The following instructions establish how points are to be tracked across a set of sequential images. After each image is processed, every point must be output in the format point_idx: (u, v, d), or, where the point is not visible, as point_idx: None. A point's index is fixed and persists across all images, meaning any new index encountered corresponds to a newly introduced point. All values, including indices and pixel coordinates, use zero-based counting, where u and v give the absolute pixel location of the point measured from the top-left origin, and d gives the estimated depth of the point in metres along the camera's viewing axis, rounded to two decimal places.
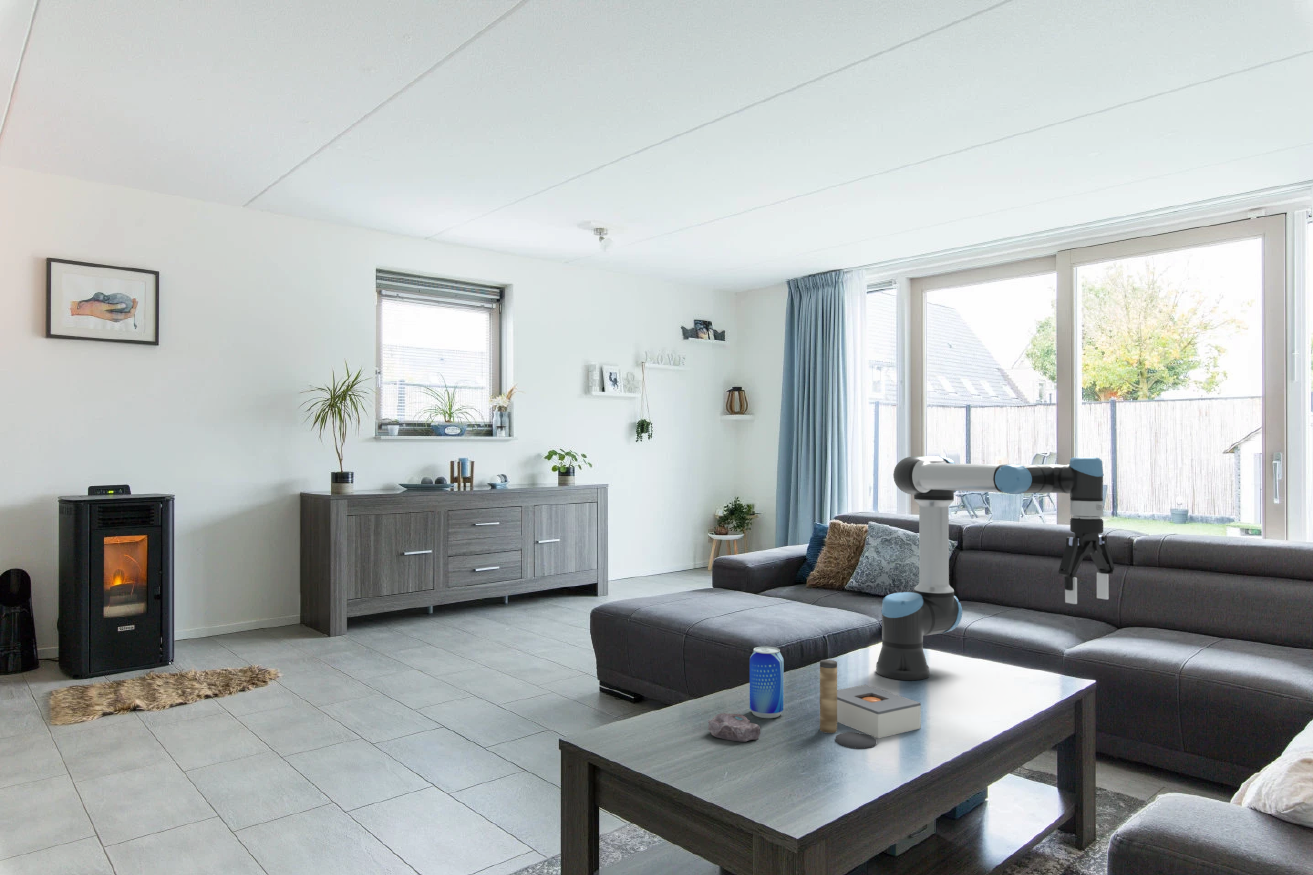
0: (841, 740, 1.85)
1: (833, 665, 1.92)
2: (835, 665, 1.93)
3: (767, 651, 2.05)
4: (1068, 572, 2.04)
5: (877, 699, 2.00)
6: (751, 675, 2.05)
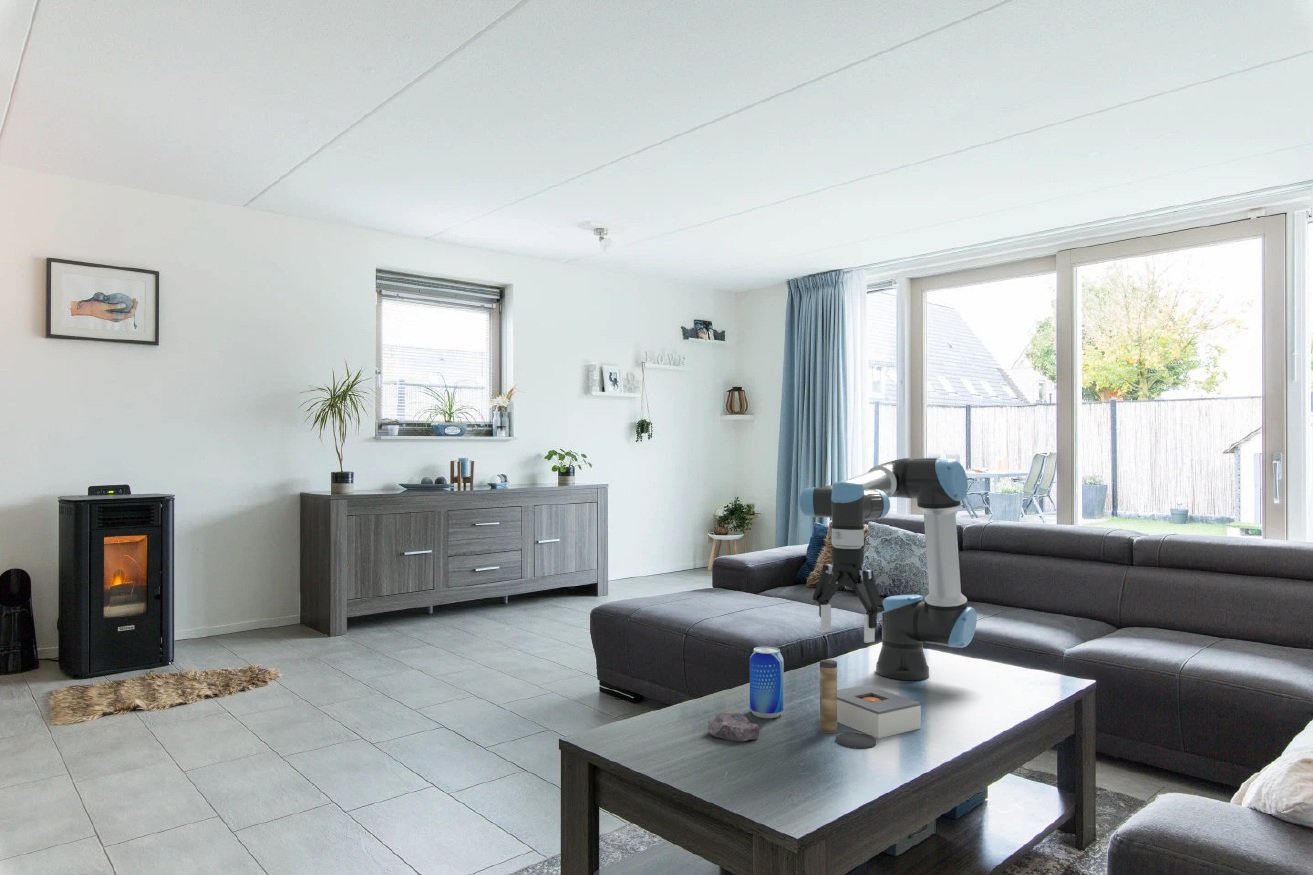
0: (841, 740, 1.85)
1: (833, 665, 1.92)
2: (835, 665, 1.93)
3: (767, 651, 2.05)
4: (813, 597, 2.02)
5: (877, 699, 2.00)
6: (751, 675, 2.05)
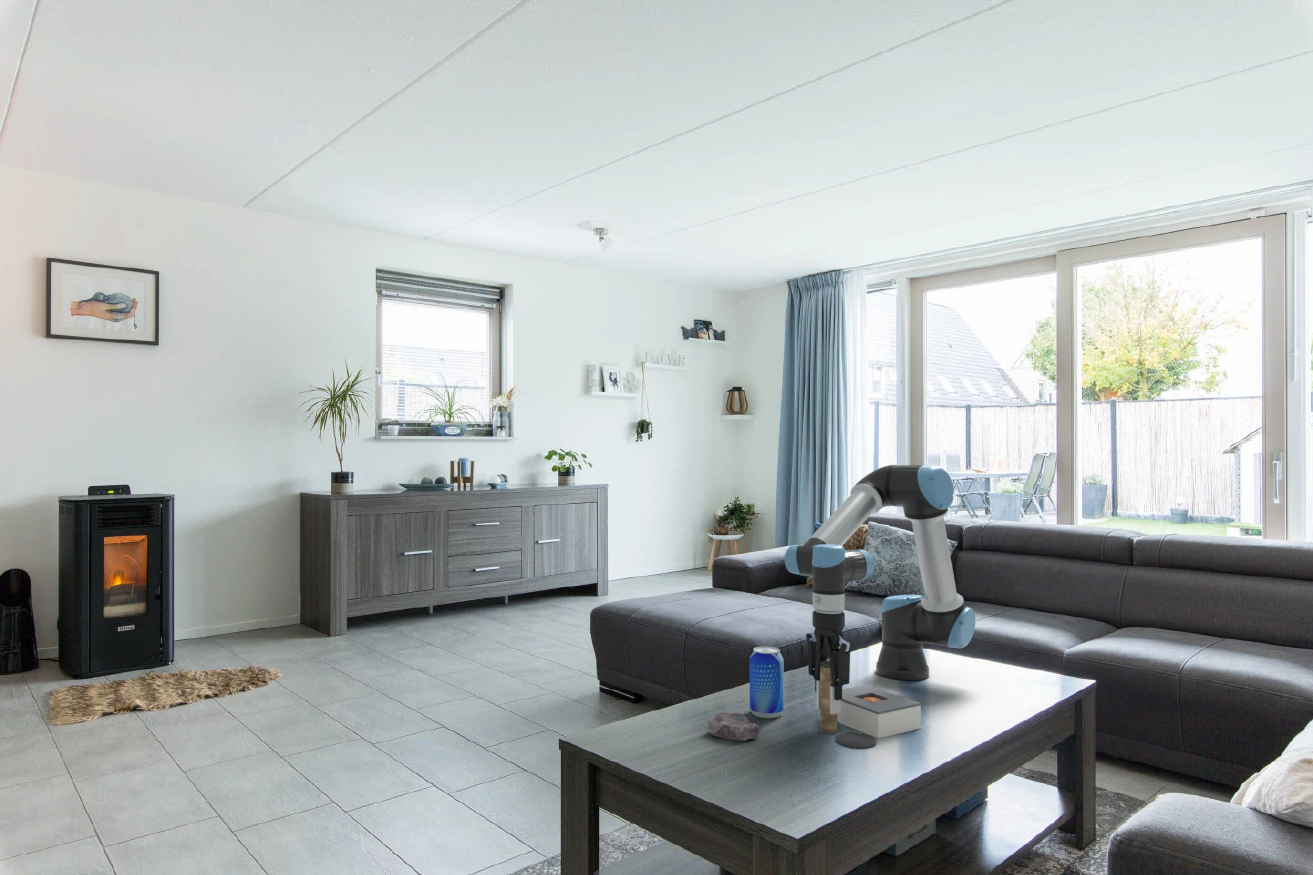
0: (841, 740, 1.85)
1: None
2: None
3: (767, 651, 2.05)
4: (809, 672, 1.98)
5: (877, 699, 2.00)
6: (751, 675, 2.05)
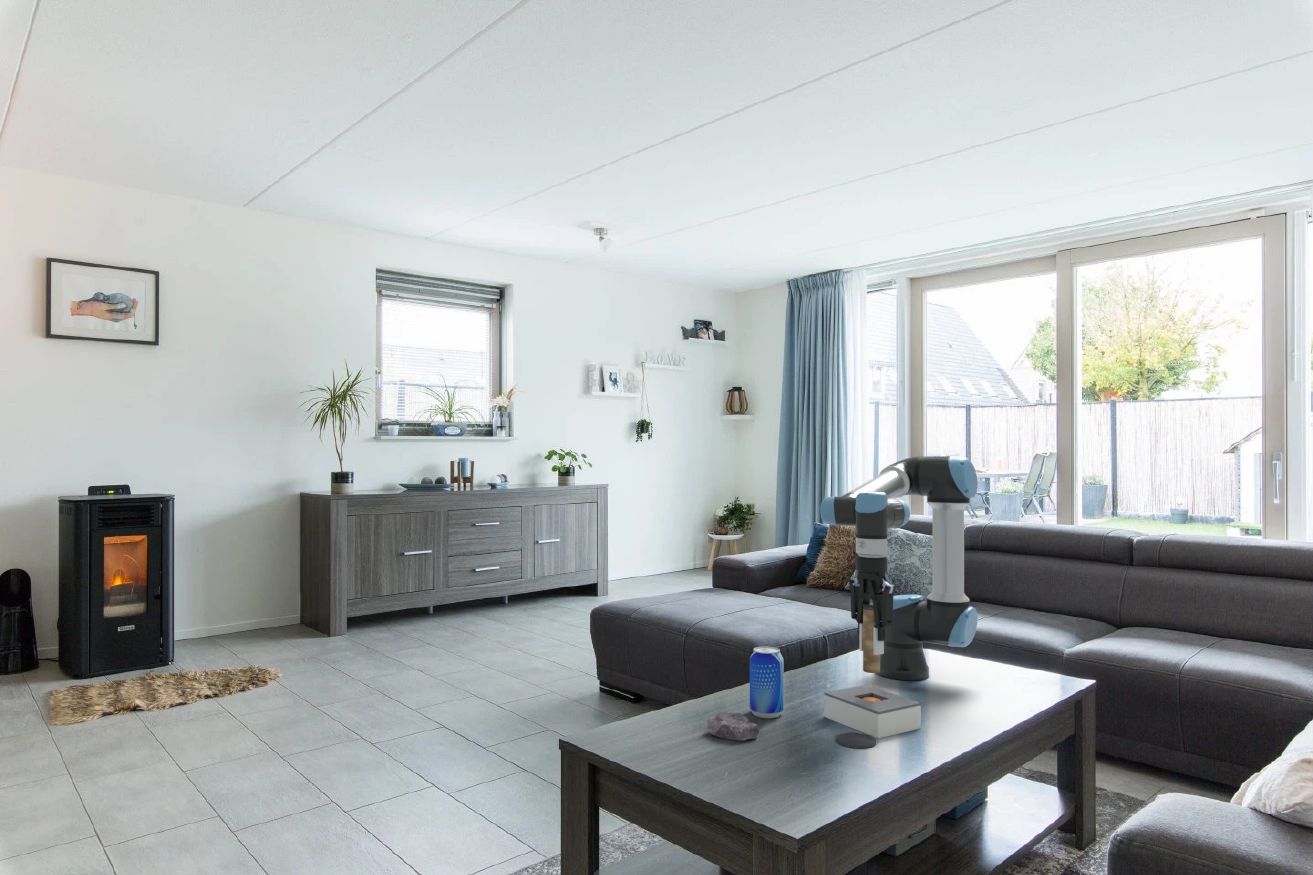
0: (841, 740, 1.85)
1: None
2: None
3: (767, 651, 2.05)
4: (852, 616, 2.04)
5: (877, 699, 2.00)
6: (751, 675, 2.05)
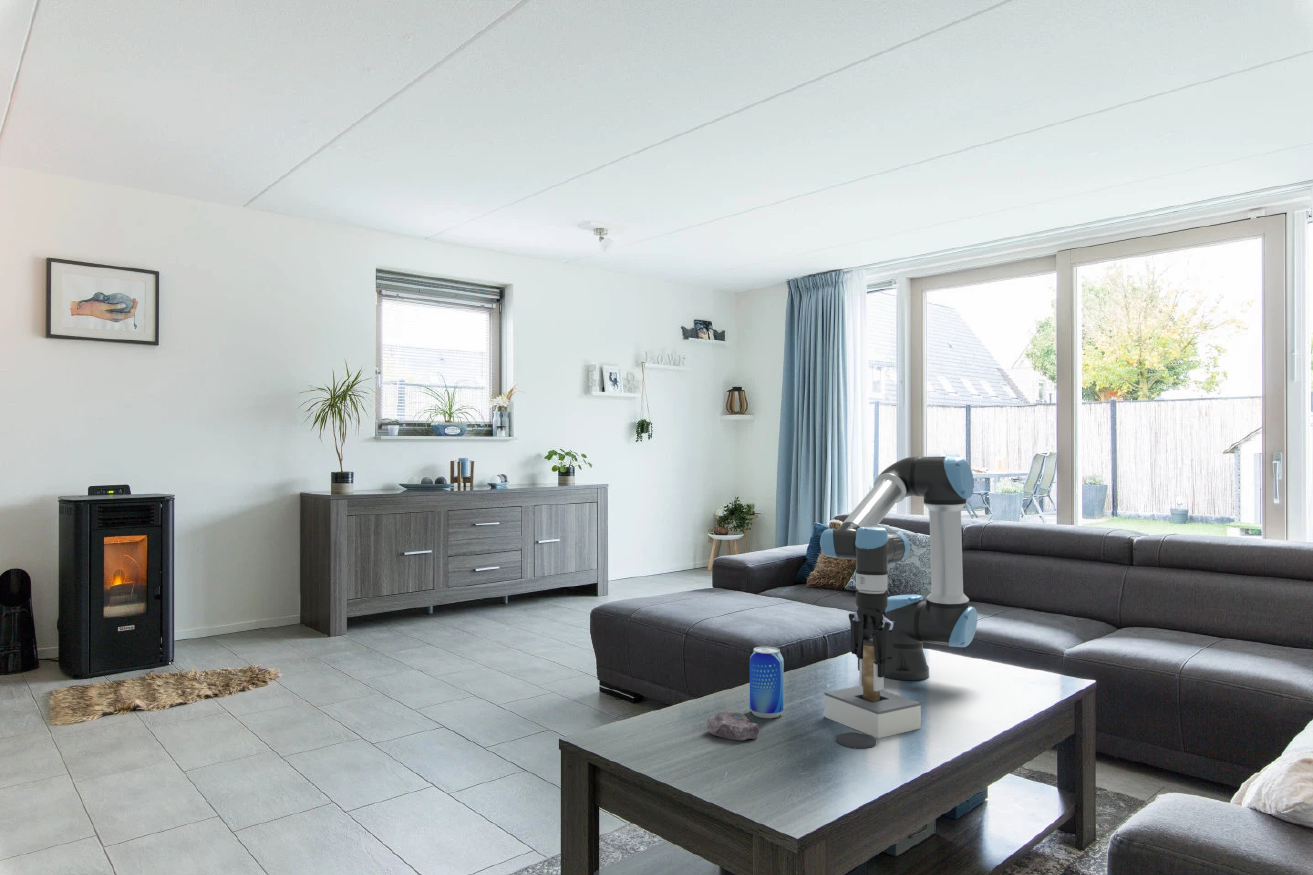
0: (841, 740, 1.85)
1: None
2: None
3: (767, 651, 2.05)
4: (852, 651, 2.04)
5: None
6: (751, 675, 2.05)
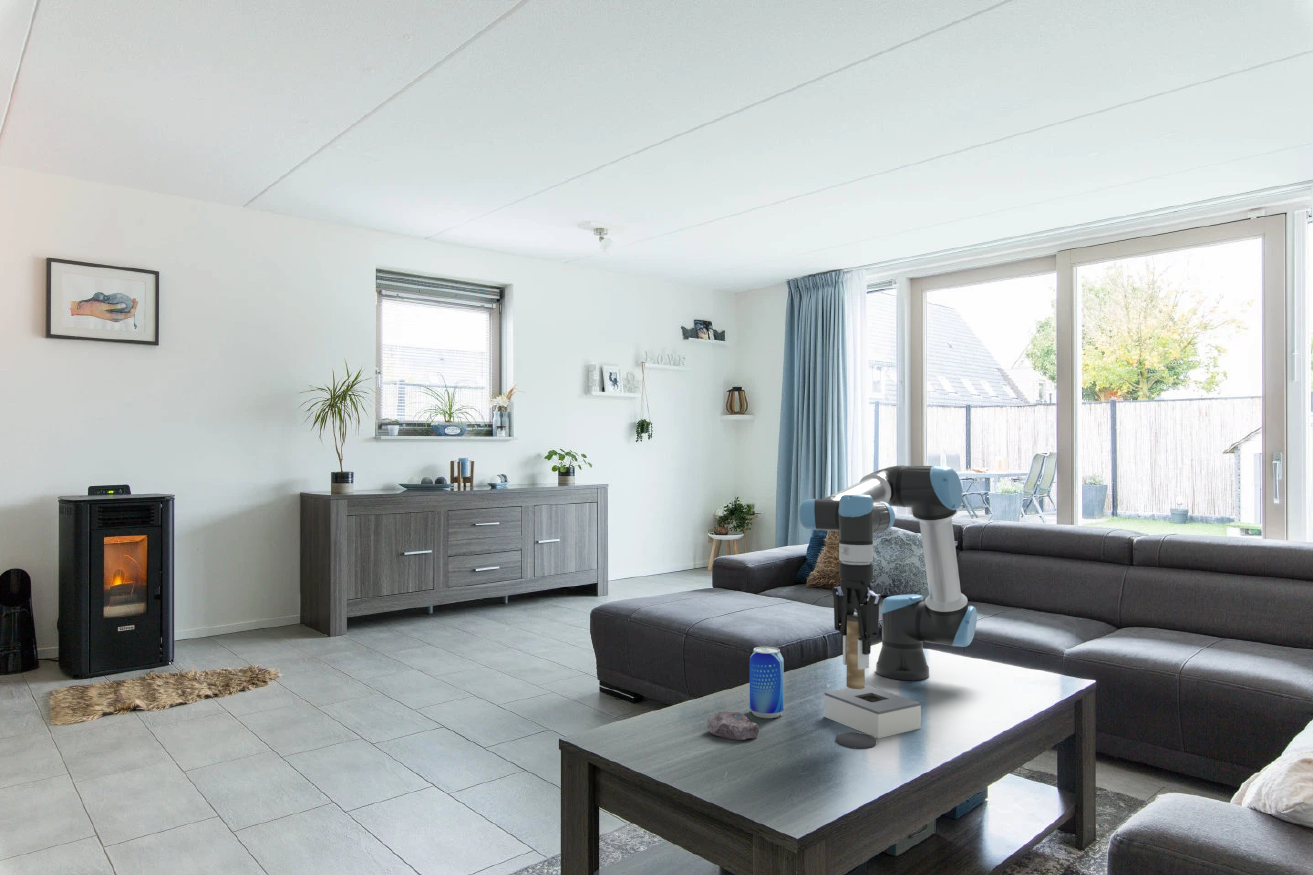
0: (841, 740, 1.85)
1: None
2: None
3: (767, 651, 2.05)
4: (835, 627, 1.90)
5: None
6: (751, 675, 2.05)
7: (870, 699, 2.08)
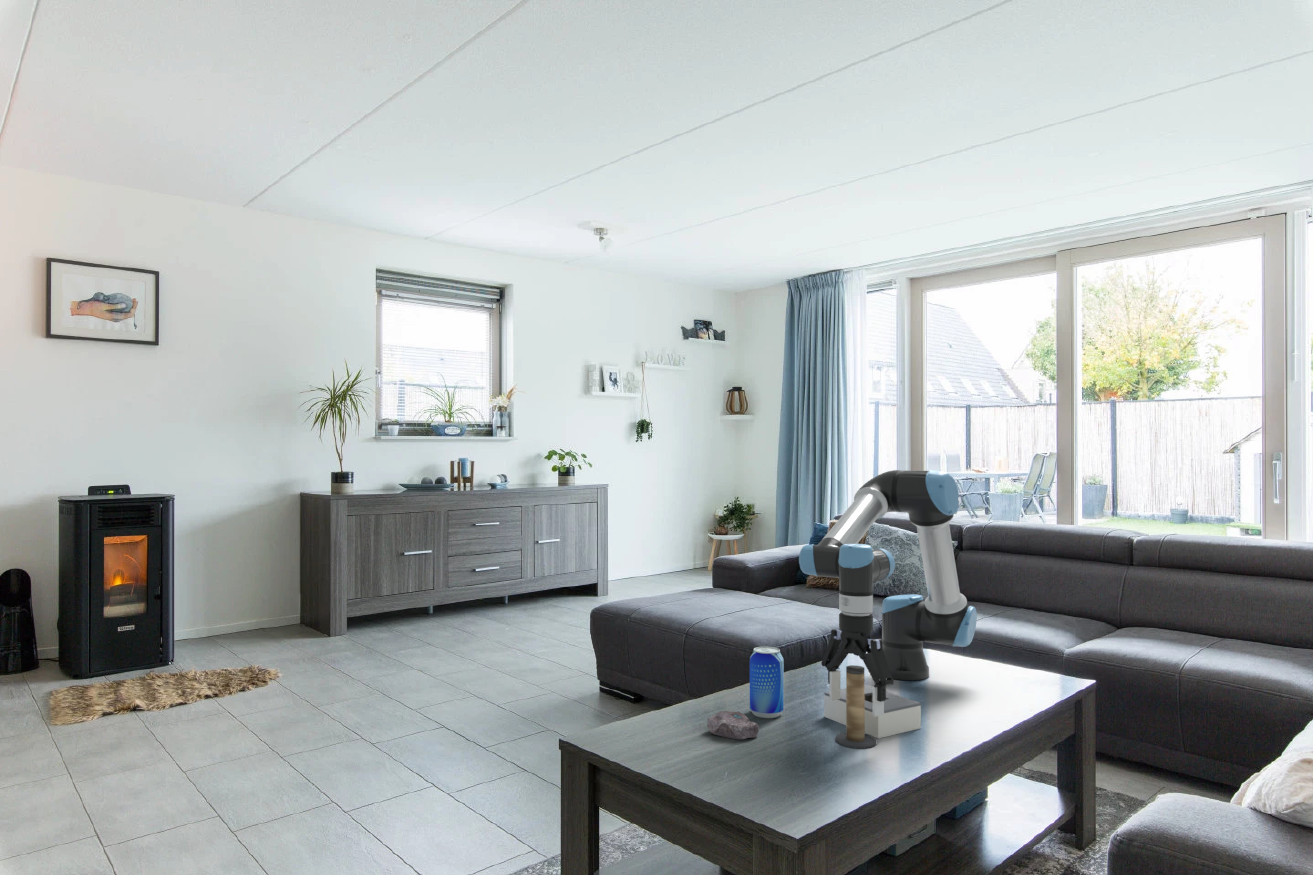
0: (841, 740, 1.85)
1: (860, 671, 1.85)
2: (862, 671, 1.85)
3: (767, 651, 2.05)
4: (822, 662, 1.94)
5: None
6: (751, 675, 2.05)
7: (870, 699, 2.08)
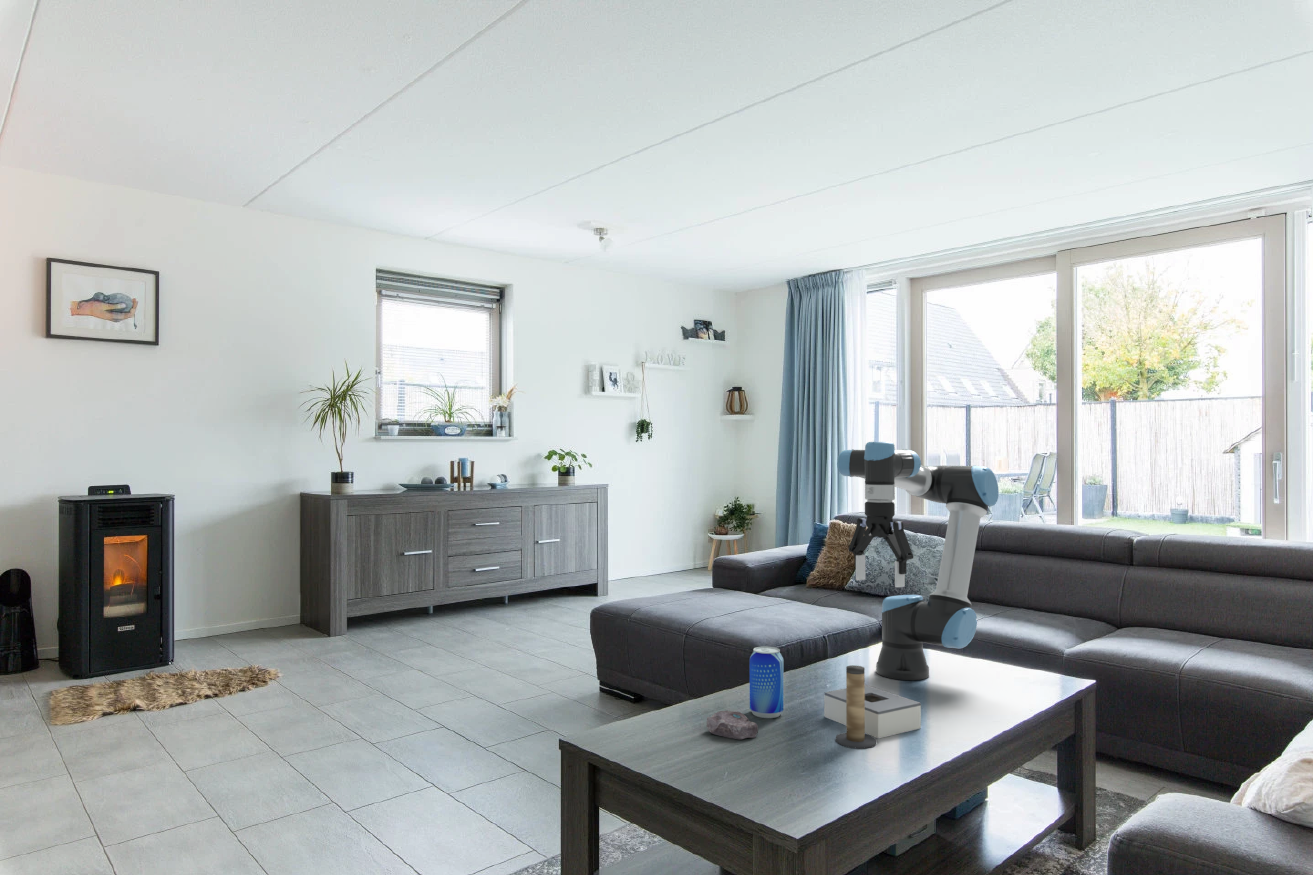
0: (841, 740, 1.85)
1: (860, 671, 1.85)
2: (862, 671, 1.85)
3: (767, 651, 2.05)
4: (849, 548, 2.21)
5: None
6: (751, 675, 2.05)
7: (870, 699, 2.08)
